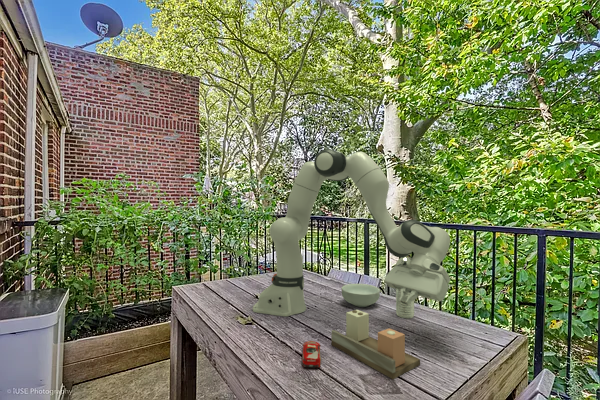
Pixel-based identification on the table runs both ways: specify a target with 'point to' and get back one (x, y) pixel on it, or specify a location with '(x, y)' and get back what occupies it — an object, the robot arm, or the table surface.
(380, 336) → the terracotta key
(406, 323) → the table surface
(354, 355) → the board
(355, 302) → the cereal bowl
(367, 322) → the cream rectangular block
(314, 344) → the race car
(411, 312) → the water bottle
